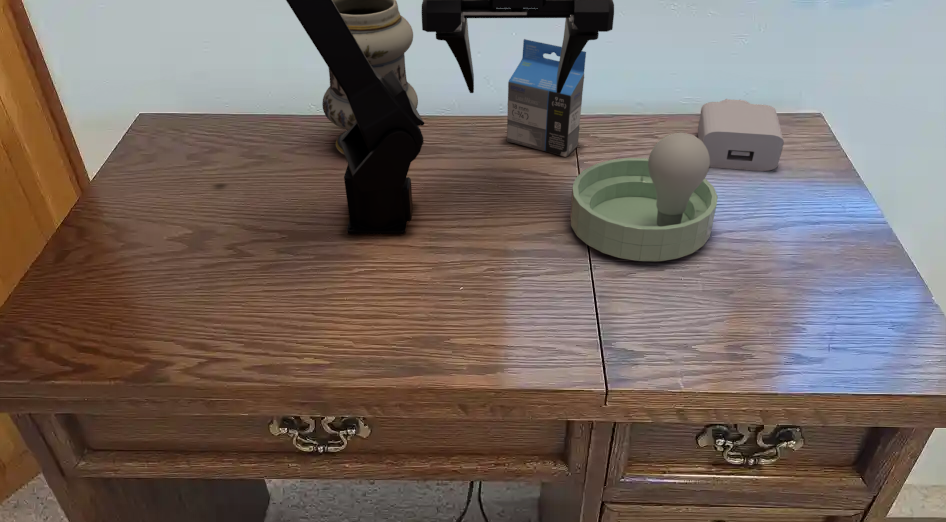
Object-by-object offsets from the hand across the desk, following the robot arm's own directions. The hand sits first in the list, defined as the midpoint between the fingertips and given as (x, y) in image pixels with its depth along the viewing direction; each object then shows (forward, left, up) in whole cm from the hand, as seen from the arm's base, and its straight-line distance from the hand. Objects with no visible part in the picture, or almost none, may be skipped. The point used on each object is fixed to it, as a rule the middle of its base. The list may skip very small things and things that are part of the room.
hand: (515, 91), depth 85 cm
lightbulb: (+17, -7, -13) cm, 22 cm away
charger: (+29, +15, -13) cm, 35 cm away
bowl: (+14, -6, -13) cm, 20 cm away
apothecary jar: (-18, +14, -13) cm, 26 cm away
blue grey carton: (+4, +14, -13) cm, 20 cm away
